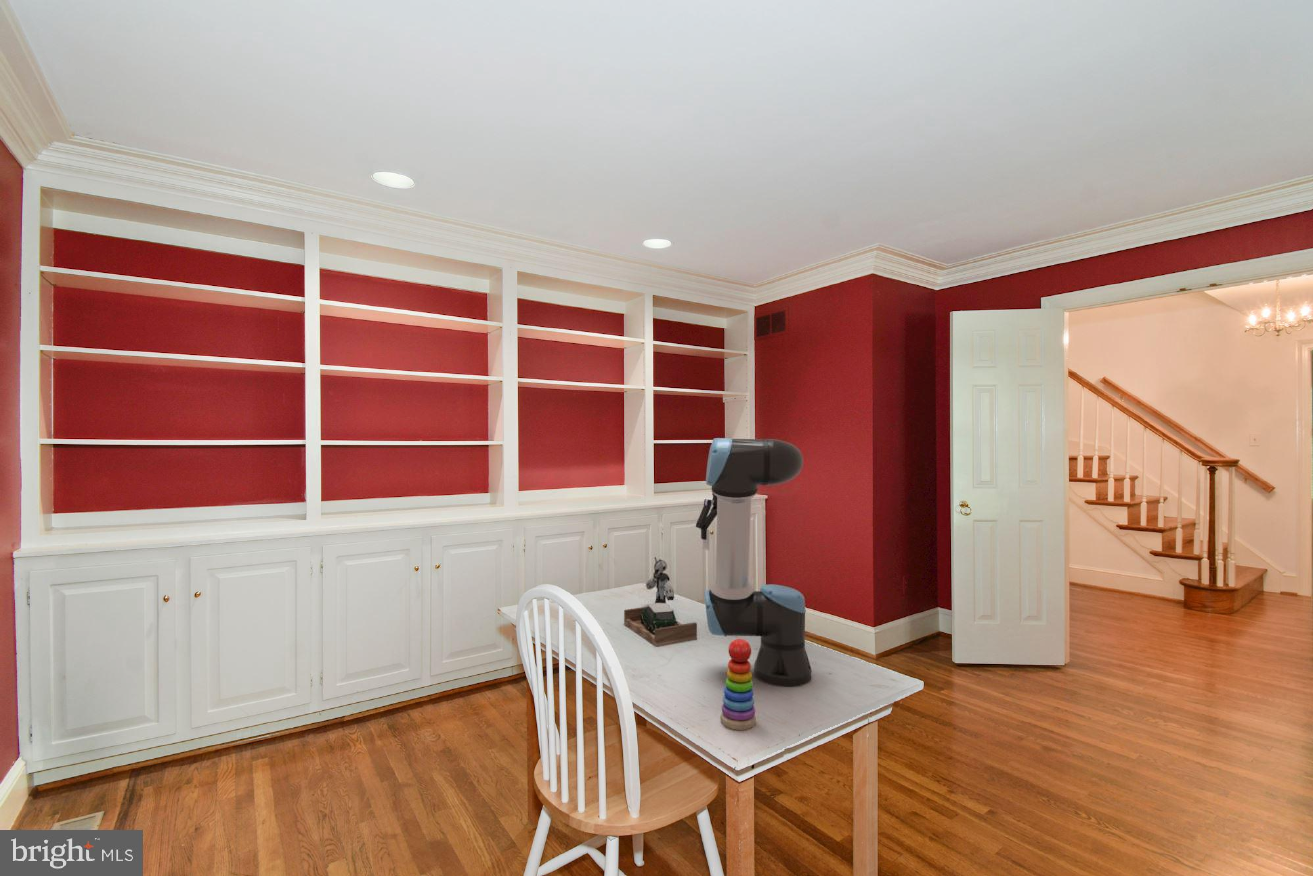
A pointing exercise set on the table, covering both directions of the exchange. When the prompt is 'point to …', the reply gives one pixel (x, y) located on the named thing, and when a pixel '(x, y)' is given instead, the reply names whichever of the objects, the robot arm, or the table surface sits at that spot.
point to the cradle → (659, 629)
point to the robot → (661, 582)
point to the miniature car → (658, 616)
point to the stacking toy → (738, 688)
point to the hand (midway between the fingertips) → (723, 547)
